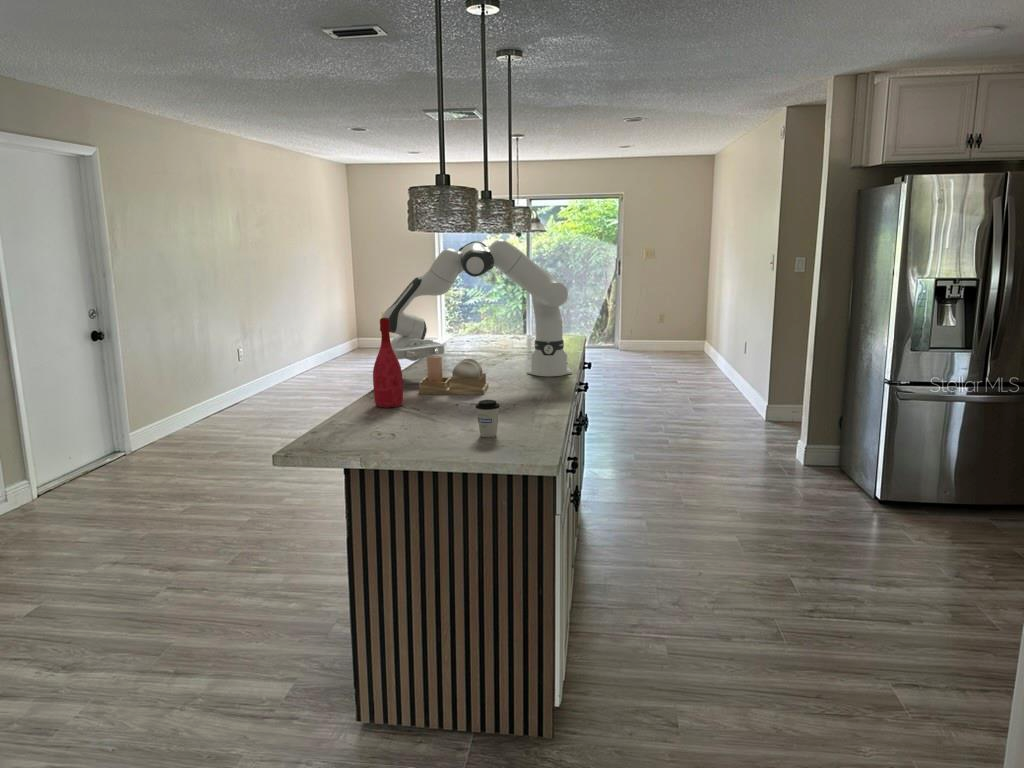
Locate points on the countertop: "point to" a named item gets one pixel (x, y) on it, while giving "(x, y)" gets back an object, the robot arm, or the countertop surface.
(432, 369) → the peach rounded cylinder
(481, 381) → the rack
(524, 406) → the countertop surface
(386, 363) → the wine bottle
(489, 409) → the coffee cup
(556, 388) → the countertop surface
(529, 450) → the countertop surface
